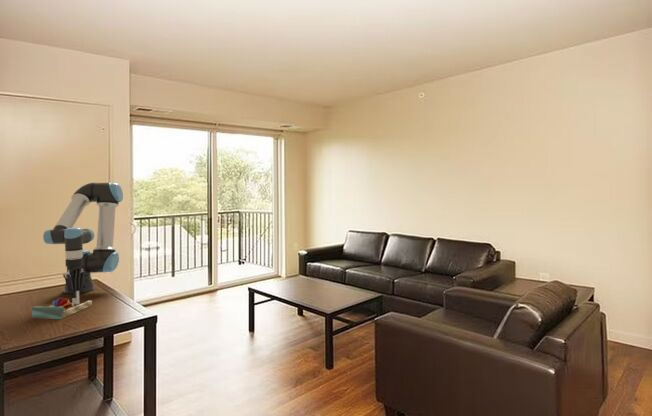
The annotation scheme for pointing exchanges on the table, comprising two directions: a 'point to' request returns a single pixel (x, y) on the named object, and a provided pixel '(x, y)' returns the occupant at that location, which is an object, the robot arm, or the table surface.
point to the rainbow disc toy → (62, 303)
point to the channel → (57, 311)
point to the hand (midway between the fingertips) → (75, 303)
